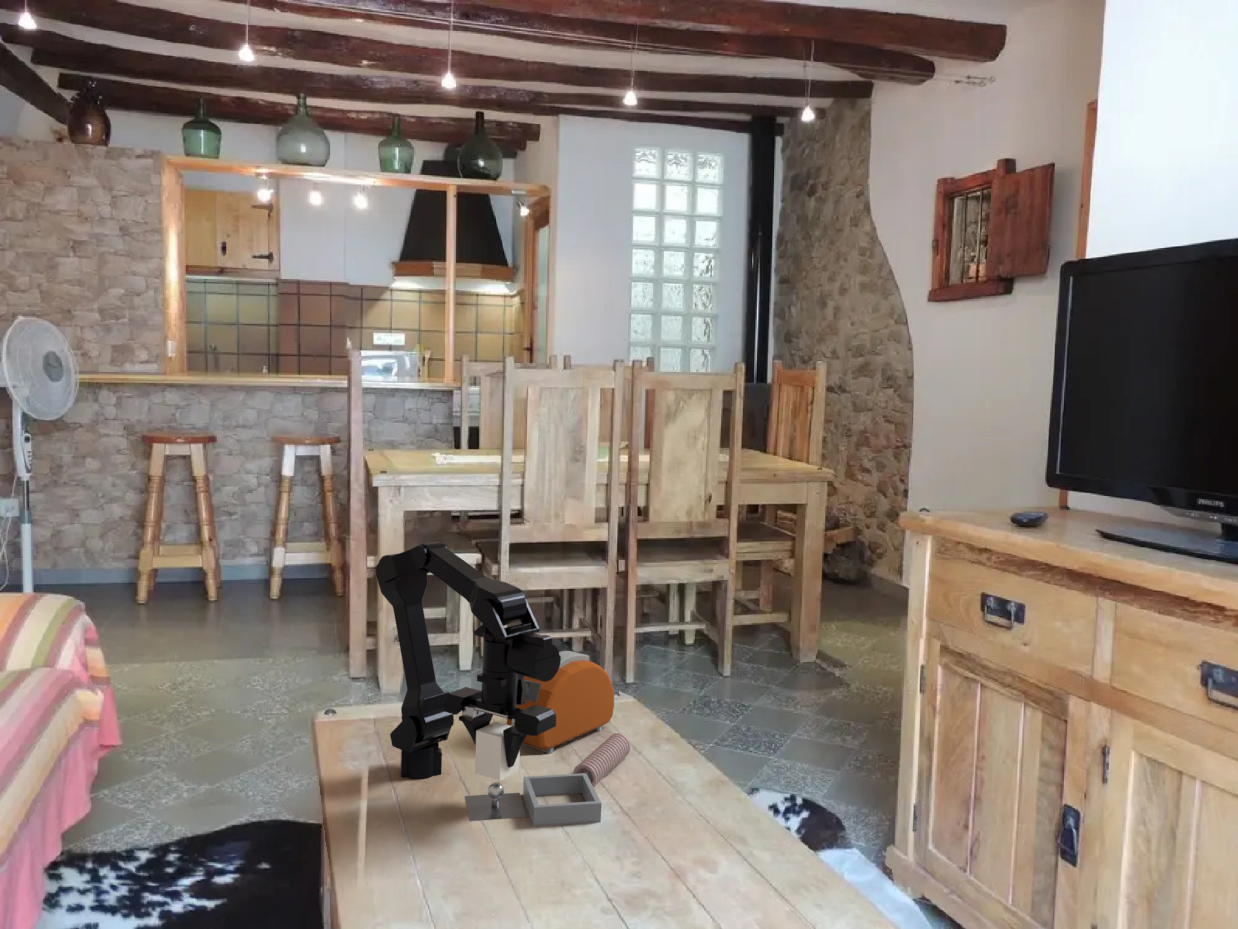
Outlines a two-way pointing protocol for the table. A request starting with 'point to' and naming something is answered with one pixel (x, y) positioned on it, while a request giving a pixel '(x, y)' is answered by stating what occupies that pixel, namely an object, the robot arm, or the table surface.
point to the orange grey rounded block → (572, 701)
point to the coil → (605, 757)
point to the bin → (563, 811)
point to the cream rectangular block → (493, 753)
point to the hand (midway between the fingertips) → (497, 762)
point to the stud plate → (495, 805)
